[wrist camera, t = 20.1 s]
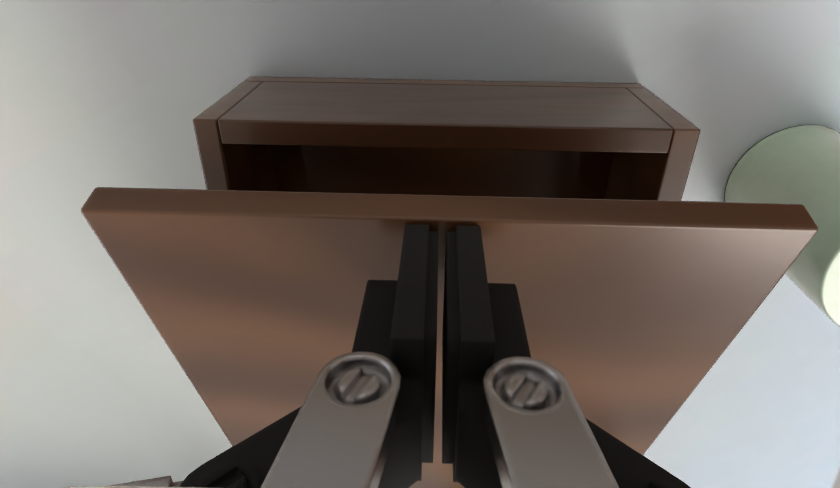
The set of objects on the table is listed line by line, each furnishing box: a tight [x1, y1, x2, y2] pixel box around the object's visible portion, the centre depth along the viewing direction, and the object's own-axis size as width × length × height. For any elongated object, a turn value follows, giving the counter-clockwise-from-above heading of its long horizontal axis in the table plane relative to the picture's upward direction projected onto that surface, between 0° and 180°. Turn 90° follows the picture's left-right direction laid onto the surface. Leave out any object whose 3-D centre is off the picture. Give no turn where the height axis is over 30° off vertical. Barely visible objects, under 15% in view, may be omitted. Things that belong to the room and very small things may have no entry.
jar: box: [725, 125, 840, 326], centre depth 20 cm, size 5×5×7 cm
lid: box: [81, 187, 818, 488], centre depth 18 cm, size 17×16×1 cm
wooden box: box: [193, 77, 700, 201], centre depth 23 cm, size 17×16×6 cm
